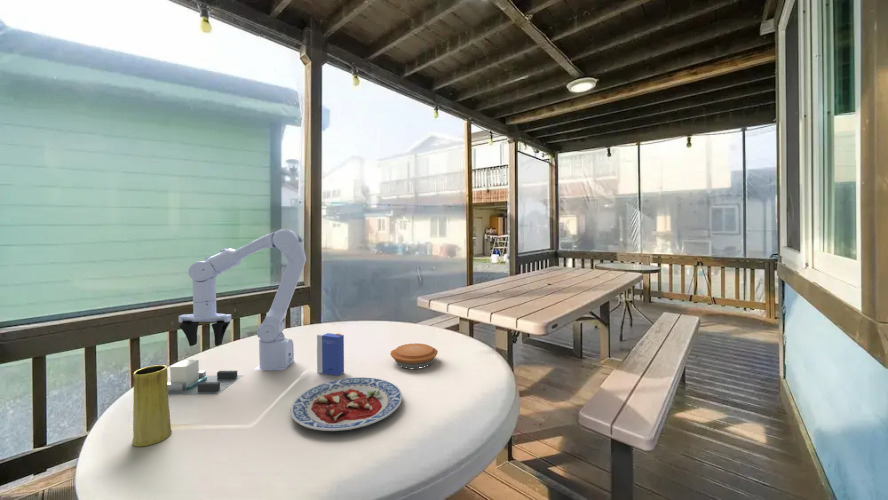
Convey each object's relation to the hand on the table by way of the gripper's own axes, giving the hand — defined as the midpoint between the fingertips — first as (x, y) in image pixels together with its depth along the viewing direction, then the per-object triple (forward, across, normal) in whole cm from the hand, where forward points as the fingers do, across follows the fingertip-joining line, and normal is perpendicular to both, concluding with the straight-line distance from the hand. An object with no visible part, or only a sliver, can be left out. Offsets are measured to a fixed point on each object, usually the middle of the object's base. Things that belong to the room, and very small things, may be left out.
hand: (205, 345), depth 102 cm
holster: (+8, +10, -10) cm, 16 cm away
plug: (+8, +1, -10) cm, 13 cm away
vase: (+9, +12, -34) cm, 37 cm away
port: (+8, +1, -10) cm, 13 cm away
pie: (+9, +63, +7) cm, 64 cm away
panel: (+8, +6, -10) cm, 14 cm away
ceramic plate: (+9, +49, -22) cm, 54 cm away
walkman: (+9, +38, -1) cm, 39 cm away
